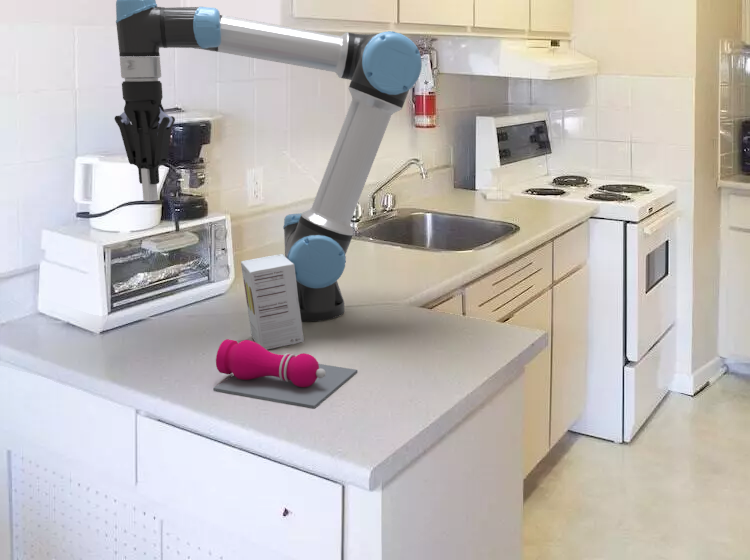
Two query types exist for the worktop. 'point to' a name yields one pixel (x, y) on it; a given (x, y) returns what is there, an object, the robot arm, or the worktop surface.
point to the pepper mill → (266, 363)
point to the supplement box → (272, 301)
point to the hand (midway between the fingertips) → (150, 200)
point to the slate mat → (289, 387)
